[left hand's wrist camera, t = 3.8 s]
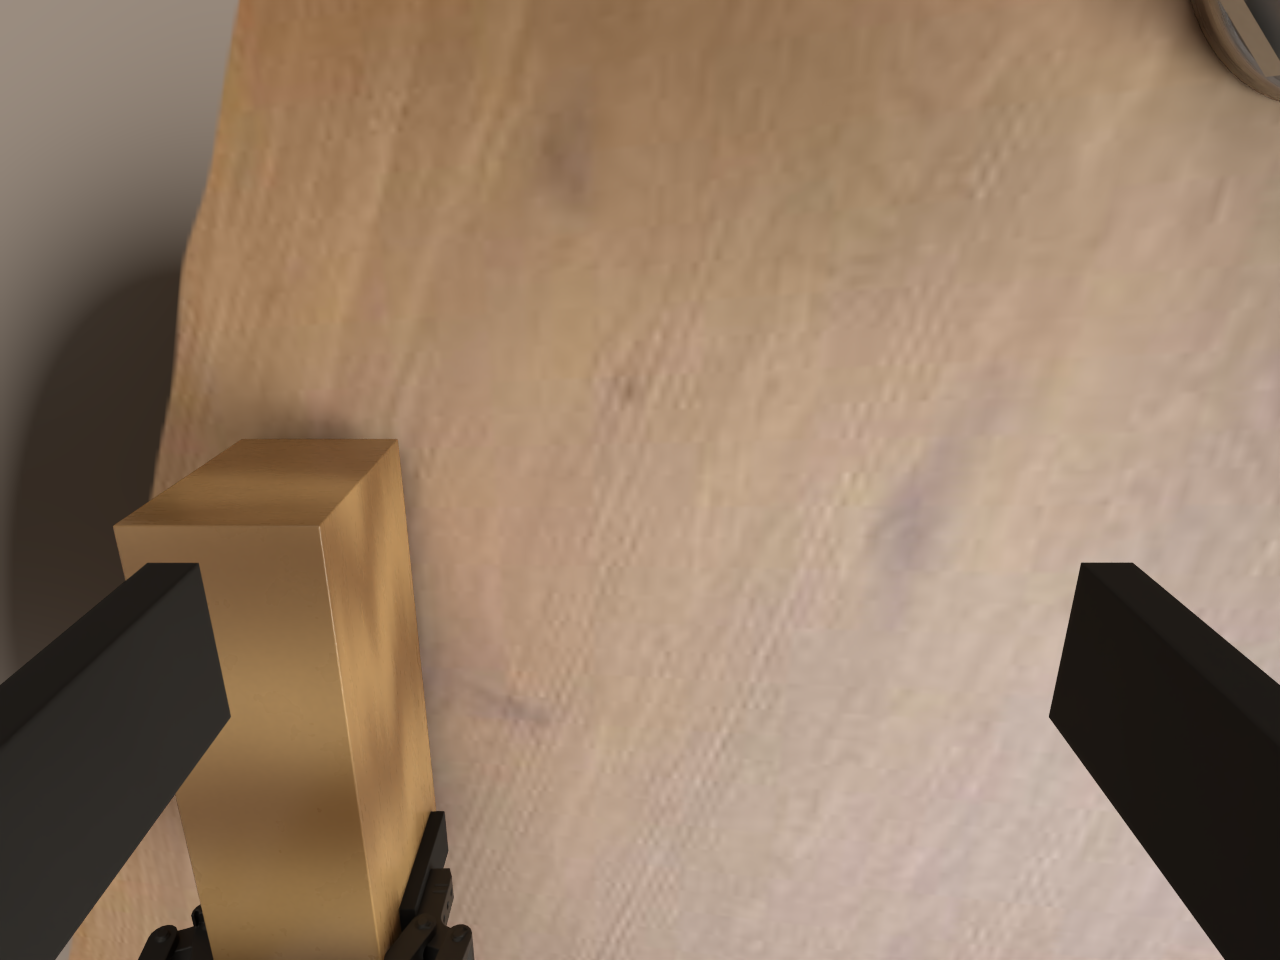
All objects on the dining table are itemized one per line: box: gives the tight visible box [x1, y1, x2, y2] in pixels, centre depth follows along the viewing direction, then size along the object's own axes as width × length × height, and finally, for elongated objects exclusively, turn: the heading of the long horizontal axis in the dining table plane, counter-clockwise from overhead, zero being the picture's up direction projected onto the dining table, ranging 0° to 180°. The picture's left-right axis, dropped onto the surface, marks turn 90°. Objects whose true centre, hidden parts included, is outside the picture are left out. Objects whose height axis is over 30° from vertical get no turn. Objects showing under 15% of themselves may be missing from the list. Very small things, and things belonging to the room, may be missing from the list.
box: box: [113, 439, 436, 960], centre depth 39 cm, size 26×7×10 cm, turn 0°
